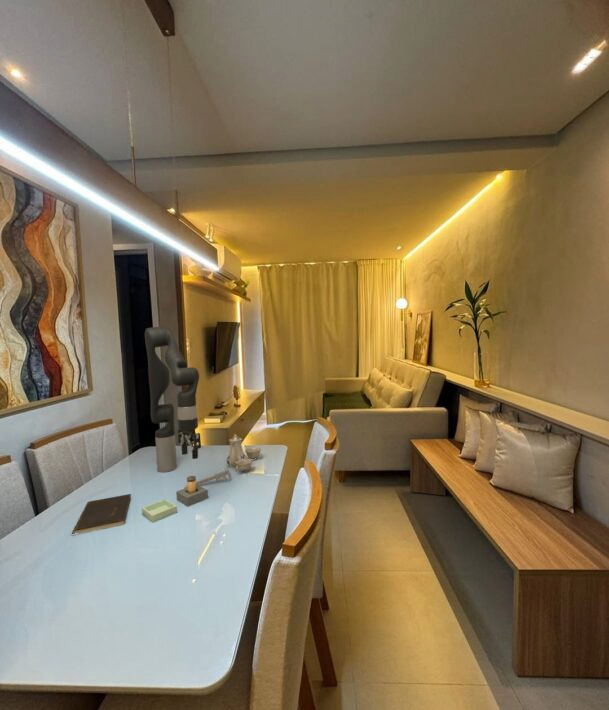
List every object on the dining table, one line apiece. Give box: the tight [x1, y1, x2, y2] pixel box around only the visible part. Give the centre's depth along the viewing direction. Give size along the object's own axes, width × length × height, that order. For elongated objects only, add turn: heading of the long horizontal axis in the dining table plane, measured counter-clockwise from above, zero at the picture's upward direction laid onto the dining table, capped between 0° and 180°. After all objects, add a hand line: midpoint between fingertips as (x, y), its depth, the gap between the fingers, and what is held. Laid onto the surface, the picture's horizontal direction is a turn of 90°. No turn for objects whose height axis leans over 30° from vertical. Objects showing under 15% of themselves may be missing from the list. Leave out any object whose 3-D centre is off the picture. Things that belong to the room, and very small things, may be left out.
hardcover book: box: [71, 493, 132, 535], centre depth 131 cm, size 16×23×2 cm
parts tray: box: [141, 498, 178, 523], centre depth 130 cm, size 9×9×2 cm
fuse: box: [186, 475, 197, 494], centre depth 140 cm, size 3×3×9 cm
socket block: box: [175, 484, 209, 507], centre depth 141 cm, size 9×9×4 cm
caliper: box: [183, 468, 232, 489], centre depth 155 cm, size 20×1×6 cm, turn 110°
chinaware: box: [225, 433, 262, 474], centre depth 177 cm, size 28×17×17 cm, turn 179°
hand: (189, 456), depth 140 cm, fingers open, 8 cm apart
